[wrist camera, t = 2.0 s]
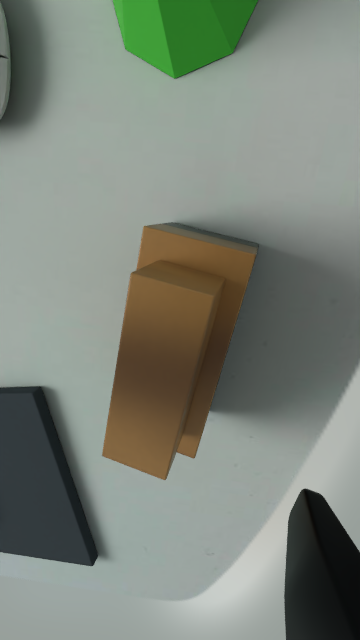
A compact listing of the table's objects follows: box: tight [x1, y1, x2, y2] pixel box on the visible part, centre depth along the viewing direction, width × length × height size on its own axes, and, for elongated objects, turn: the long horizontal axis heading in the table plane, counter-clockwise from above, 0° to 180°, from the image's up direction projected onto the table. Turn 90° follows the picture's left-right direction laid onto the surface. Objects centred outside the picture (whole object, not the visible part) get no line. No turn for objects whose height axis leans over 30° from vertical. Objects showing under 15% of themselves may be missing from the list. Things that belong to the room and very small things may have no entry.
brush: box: [102, 222, 259, 480], centre depth 13 cm, size 9×4×6 cm, turn 168°
